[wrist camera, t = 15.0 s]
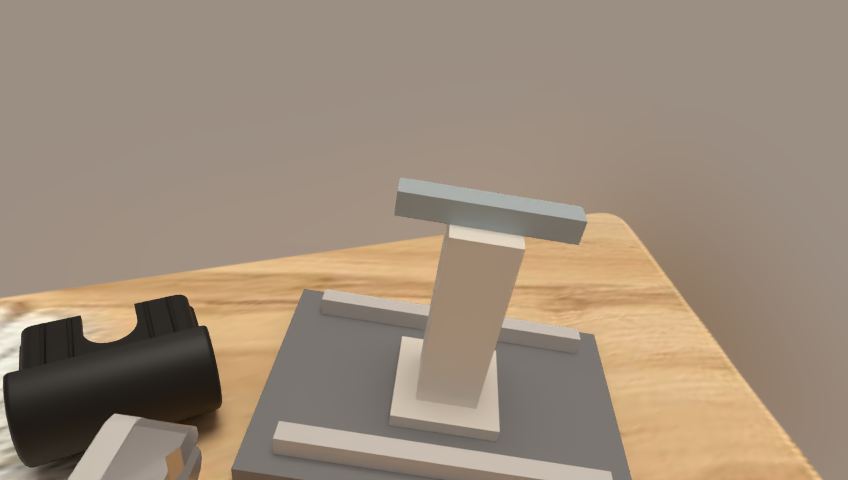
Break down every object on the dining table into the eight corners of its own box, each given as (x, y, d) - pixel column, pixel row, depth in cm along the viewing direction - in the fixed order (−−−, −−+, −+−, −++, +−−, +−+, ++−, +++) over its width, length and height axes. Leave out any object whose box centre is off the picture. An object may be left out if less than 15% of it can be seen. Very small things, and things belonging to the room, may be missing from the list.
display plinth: (233, 483, 31) (229, 453, 30) (303, 302, 45) (304, 274, 43) (635, 544, 32) (655, 517, 30) (588, 347, 45) (599, 321, 43)
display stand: (519, 445, 35) (597, 252, 26) (365, 421, 34) (390, 219, 26) (512, 363, 40) (574, 182, 31) (380, 342, 40) (405, 155, 31)
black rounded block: (37, 498, 29) (-2, 421, 26) (37, 400, 34) (4, 322, 30) (226, 433, 34) (218, 360, 30) (203, 355, 39) (193, 283, 35)
